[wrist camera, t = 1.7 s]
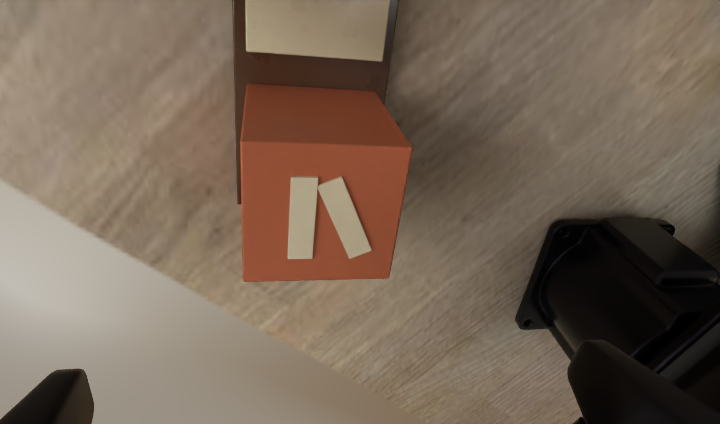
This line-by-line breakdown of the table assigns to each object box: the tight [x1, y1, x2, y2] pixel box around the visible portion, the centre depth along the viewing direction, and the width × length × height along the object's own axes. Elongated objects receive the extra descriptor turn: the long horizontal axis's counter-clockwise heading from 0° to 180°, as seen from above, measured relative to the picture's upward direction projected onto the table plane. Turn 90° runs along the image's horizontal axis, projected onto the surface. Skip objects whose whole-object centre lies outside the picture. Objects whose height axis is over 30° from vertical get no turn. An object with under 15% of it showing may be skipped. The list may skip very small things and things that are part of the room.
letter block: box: [240, 84, 412, 282], centre depth 15 cm, size 4×4×5 cm
